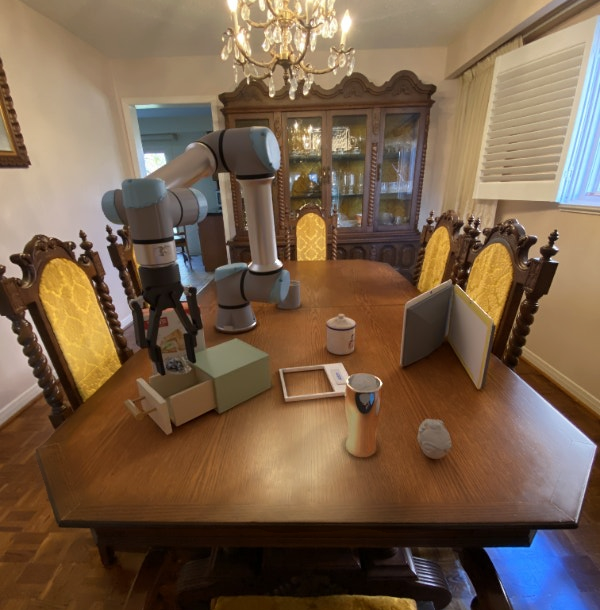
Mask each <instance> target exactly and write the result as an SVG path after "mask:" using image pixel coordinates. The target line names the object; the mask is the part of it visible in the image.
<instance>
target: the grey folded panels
mask: <svg viewBox="0 0 600 610" xmlns="http://www.w3.org/2000/svg"><path fill="white" fill-rule="evenodd" d="M496 328H497V325H496V324H495V323H494V322H493V318H492V317H491V316H490V315H489V314H488V313H487V312H486V311H485V310H484V309H483V308H482V307H481V306H480V305H479V304H478V303H477V302H476V301H475V300H474V299H473V298H471V296H470V295H468V293H466V292H465V291H464V290H463V289H462V288H461V287H460V285H458V284H457V283H456V284H453V280H452V279H448V280H446V281H444V282H442V283H440V284H438V285H436V286H435V287H432V288H431V289H429V290H427V291H425V292H423V293H422V294H419V295H418V296H416V297H414V298H412V299H410V300H408V301H406V303H405V304H404V309H403V321H402V332H401V343H400V344H401V345H400V357H399V358H400V359H399V366H400V367H407V366H409V365H411V364H413V363H415V362H418V361H419V360H421V359H424V358H426V357H428V356H429V355H431V354H432V352H434V351H435V350H436V349H438V348H439V347H440V346H441V345H442V344H443V342H444V340H445V339H446V337H447V342H448V343H449V345H450V346H451V348H452V350H453V351H454V353H455V355H456V356H457V358H458V360H459V362H460V363H461V365H462V366H463V369H465V371H466V373H467V374H468V376H469V377H470V379H471V381H472V382H473V384H474V386H475V387H476V388H477V390H480V389H485V385H486V380H487V375H488V369H489V366H490V365H489V364H490V359H491V355H492V349H493V343H494V339H495V334H496V333H495V332H496Z"/></svg>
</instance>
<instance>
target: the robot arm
mask: <svg viewBox="0 0 600 610" xmlns="http://www.w3.org/2000/svg"><path fill="white" fill-rule="evenodd" d="M280 167H281V151H280V146H279V143H278V140H277V137H276V136H275V134H274V132H273V131H272V130H271V129H270V128H269V127H267V126H255V125H253V126H247V127H237V128H236V127H235V128H223V129H222V128H221V129H218V130H214V131H211V132H210V133H207V134H205V135H203V136H201V137H200V138H198V139H196V140H194V141H192V142H191V143H190V144H188V145H187V146H186V147H185V149H184V152H182V153H181V154H180V155H178V156H177V157H175V158H173V159H172V160H170V161H168V162H167V163H165V164H164V165H162V166H161V167H158V168H157V169H155V170H154V171H152V172H151V173H149V174H147V175H146V176H144V177H142V178H141V177H139V178H125V179H124V180H123V181H122V182H121V189H120V188H116V189H111V190H108V191H107V190H106V192H105V193H104V194H103V195H102V196H101V197H102V198H101V202H100V203H101V211H102V214H103V215H104V216H105V218H106V219H107V220H108V221H109V222H110V223H112V224H114V225H118V226H125V227H128V228H129V232H130V237H131V242H132V247H133V251H134V257H135V258H134V259H135V262H136V264H137V265H138V267H137V272H138V276H139V282H140V287H141V292H140V295H139V296H137V297H135V298H134V299H132V298H129V299H128V300H127V305H128V306H129V308H130V310H131V314H132V315H131V316H132V323H133V324H132V325H133V331H134V332H133V333H134V338H135V345H136V346H138V347H139V348H140V349H141V350H144V349H147V354H148V357H149V360H150V362H151V361H152V362H155V364H156V369H157V372H158V373H159V374H161V375H162V376H164V375H166V373H165V368H164V363H163V358H162V353H161V348H160V346H158V345H157V344H156V343H157V337H158V330H159V323H160V317H161V316H162V311H164V310H166V309H168V308H173V309H174V311H175V312H176V314H177V316H178V318H179V319H180V321H181V323H182V325H183V326H184V328H185V330H186V331H187V333H184V334H183V336H184V342H185V348H186V353H187V359H188V360H189V361H190V362H192V363H193V364H194V363H196V357H195V351H194V348H195V347H197V341H196V336H197V334H198V332H197V331H198V330H202V329H203V330H204V325H203V319H202V320H201V316H202V315H201V316H200V311H199V307H198V305H199V304H198V299H197V296H198V295H197V294H198V288H197V287H195V286H193V285H190V284H188V285H184V284H183V283H182V281H181V280H182V277H181V271H180V265H179V263H178V262H177V260H178V252H177V247H176V239H175V234H174V229H175V228H179V227H186V226H194V225H196V224H198V223H202V221H204V219H206V217H207V215H208V211H209V205H208V201H207V199H206V196H205V195H204V194H203V193H202V192H201V191H200V190H199V189H197V188H193V187H192V186H194V185H195V184H196V183H197V182H199V181H200V180H202V179H207V178H210V177H212V176H213V175H216V174H235V180H236V182H238V183H239V184H240V186H241V187H242V196H243V202H244V210H245V218H246V226H247V227H246V228H247V233H248V241H249V250H250V257H251V262H249V264H247V263H246V262H235V263H229V264H225V265H221V266H219V267H217V268H215V270H214V284H215V285H214V286H215V291H216V292H215V293H216V301H217V306H218V307H217V313H216V317H215V323H214V326H215V330H216V331H217V332H219V333H222V334H228V335H229V334H231V335H233V334H241V333H246V332H249V331H252V330H254V329H255V328H256V327H257V325H258V324H257V323H258V322H257V318H256V315H255V313H254V310H253V308H252V306H251V302H253V303H263V304H264V303H265V304H269V305H271V304H277V303H281V302H283V301H284V299H285V298H286V296H287V293H288V290H289V284H290V280H291V275H290V271H289V270H287V269H284V264H283V262H282V261H281V260H280V259H278V249H277V248H278V247H277V238H276V237H277V236H276V228H275V217H274V207H273V196H272V195H273V194H272V187H271V186H272V185H271V184H272V182H273V180H274V179H275V177H276V176H275V175H276V174H275V173H276V172H277V171H278V170H279V169H280ZM183 295H184V296H185V300H186V302H187V304H188V308H189V312H190V316H191V320H192V323H191V321H190V319H189V317H188V316H187V314H186V312H185V310H184V307H183V305H182V303H183V302H181V299H182V296H183ZM144 303H147V305H149V307H148V308H149V321H148V328H147V335H145V326H144V317H143V312H142V309H144ZM192 324H193V325H192Z"/></svg>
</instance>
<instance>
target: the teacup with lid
mask: <svg viewBox="0 0 600 610" xmlns="http://www.w3.org/2000/svg"><path fill="white" fill-rule="evenodd" d="M356 326H357V324H356V321H355V320H353V319H352V318H350V317H346V316H345V314H344V313H338V314H337V316H335V317H332V318H330V319H328V320H327V321H326V326H325V327H326V349H327V351H328V352H329V353H330V354H334V355H339V356H345V355H348V354H351V353H353V352H354V350H355V342H356V341H355V340H356V339H355V338H356Z"/></svg>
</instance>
